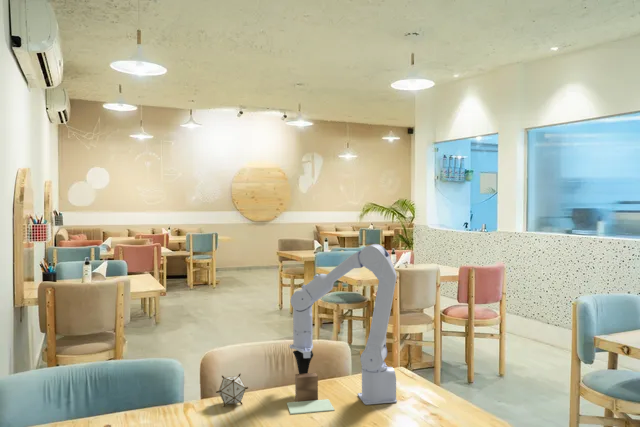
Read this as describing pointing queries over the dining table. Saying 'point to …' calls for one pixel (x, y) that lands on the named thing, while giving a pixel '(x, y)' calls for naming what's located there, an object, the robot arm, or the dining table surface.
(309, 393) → the walnut frame
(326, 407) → the sage mat
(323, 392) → the dining table surface
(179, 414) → the dining table surface
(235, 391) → the game die
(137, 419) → the dining table surface
